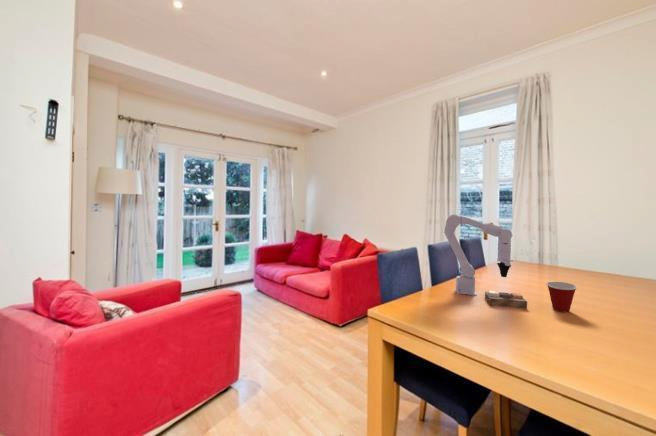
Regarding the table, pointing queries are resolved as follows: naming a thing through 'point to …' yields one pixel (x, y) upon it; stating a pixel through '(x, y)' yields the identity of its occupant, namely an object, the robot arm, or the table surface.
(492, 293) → the ivory key
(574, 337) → the table surface
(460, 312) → the table surface
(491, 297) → the key box
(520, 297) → the terracotta key
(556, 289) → the plastic cup
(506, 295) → the charcoal key
